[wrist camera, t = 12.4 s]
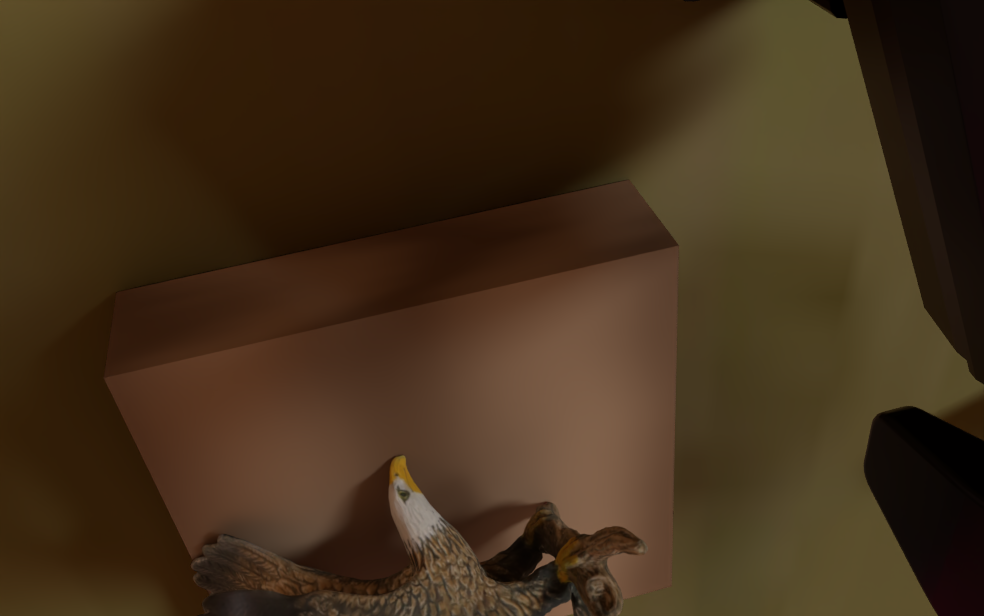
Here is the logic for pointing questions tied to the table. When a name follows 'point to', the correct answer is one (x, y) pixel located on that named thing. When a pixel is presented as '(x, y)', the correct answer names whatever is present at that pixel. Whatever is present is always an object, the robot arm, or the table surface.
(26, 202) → the table surface
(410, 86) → the table surface
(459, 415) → the plinth
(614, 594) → the eagle figurine
